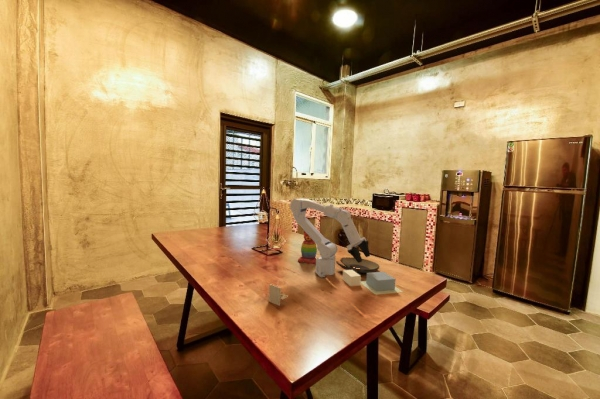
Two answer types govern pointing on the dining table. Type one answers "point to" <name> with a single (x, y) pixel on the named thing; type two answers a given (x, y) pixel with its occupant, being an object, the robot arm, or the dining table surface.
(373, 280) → the blue base brick
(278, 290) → the grey tabbed plate
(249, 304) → the dining table surface
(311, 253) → the stacking bear
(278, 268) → the dining table surface
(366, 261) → the dark shallow pan
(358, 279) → the cream brick
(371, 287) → the baseplate
